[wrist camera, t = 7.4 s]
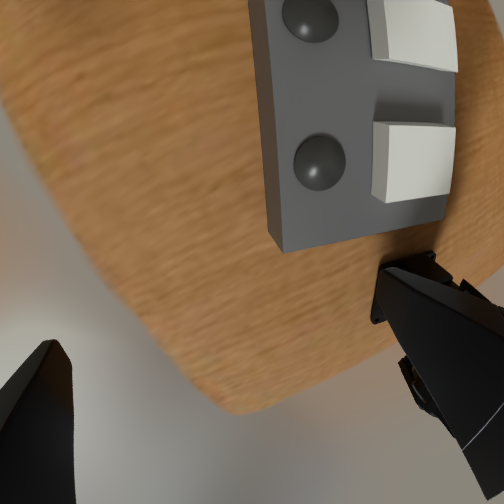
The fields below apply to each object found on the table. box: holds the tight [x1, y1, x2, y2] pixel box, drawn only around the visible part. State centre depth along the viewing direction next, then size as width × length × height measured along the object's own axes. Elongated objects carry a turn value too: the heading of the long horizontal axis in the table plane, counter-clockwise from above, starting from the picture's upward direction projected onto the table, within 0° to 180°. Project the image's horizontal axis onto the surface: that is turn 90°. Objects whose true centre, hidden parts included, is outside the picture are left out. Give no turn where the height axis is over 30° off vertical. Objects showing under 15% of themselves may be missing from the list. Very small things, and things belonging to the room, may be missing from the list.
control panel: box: [248, 0, 455, 253], centre depth 14 cm, size 26×13×3 cm, turn 5°
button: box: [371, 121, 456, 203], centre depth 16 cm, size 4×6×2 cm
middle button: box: [367, 0, 458, 72], centre depth 12 cm, size 4×6×2 cm
